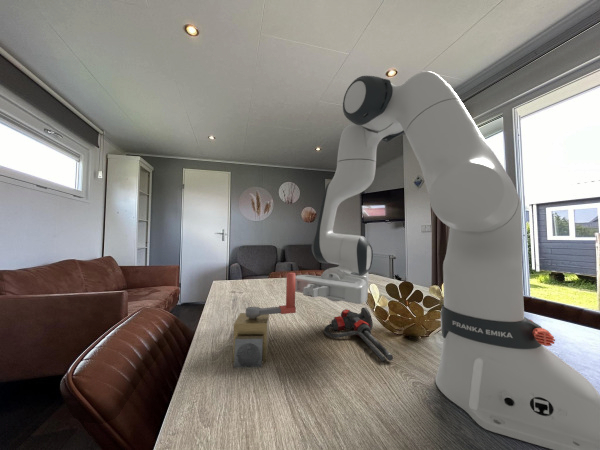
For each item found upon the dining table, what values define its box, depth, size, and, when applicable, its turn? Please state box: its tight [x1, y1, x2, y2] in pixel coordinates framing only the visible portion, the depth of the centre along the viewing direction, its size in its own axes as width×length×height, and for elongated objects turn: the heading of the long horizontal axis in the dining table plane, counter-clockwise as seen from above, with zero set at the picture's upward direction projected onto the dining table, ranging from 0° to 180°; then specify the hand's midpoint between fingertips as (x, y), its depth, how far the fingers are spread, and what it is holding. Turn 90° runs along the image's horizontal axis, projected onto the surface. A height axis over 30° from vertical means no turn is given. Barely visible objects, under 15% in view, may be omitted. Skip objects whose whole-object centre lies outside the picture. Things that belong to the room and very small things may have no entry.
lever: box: [245, 272, 297, 318], centre depth 54 cm, size 12×3×9 cm, turn 109°
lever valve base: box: [232, 312, 270, 369], centre depth 52 cm, size 11×7×8 cm, turn 4°
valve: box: [323, 307, 394, 362], centre depth 61 cm, size 6×26×15 cm
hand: (308, 292), depth 50 cm, fingers closed
